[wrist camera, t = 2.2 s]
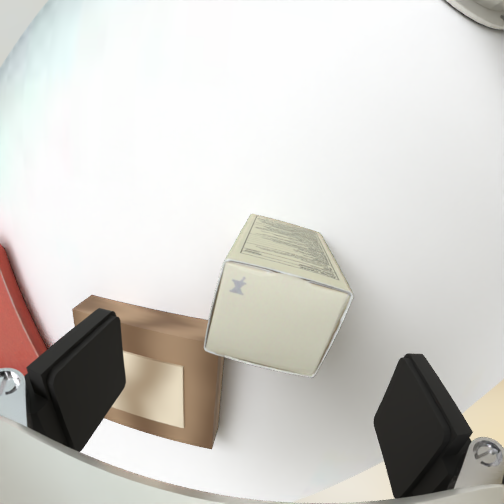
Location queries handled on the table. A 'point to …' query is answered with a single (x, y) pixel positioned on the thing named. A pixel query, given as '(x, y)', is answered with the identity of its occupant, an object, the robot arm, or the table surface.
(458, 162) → the table surface
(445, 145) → the table surface
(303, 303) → the skincare box
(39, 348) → the plant saucer
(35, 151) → the table surface
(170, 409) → the base slab
